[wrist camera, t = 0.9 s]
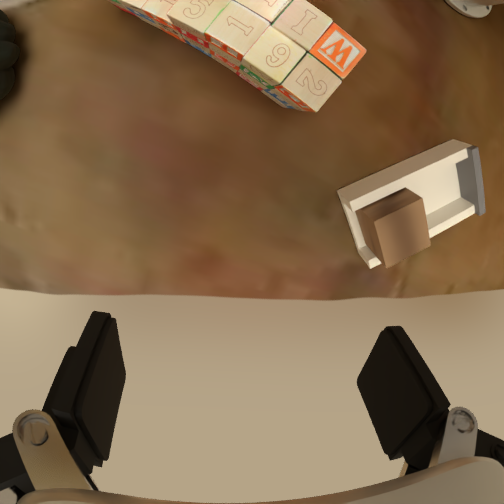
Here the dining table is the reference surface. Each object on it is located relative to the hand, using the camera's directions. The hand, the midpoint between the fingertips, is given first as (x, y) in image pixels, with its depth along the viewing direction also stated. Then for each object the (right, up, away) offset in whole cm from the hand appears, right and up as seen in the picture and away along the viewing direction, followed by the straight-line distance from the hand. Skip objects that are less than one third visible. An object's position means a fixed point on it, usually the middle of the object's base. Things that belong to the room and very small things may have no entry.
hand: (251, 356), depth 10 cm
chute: (+20, +11, +24) cm, 33 cm away
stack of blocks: (-3, +26, +15) cm, 30 cm away
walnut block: (+15, +8, +24) cm, 30 cm away
